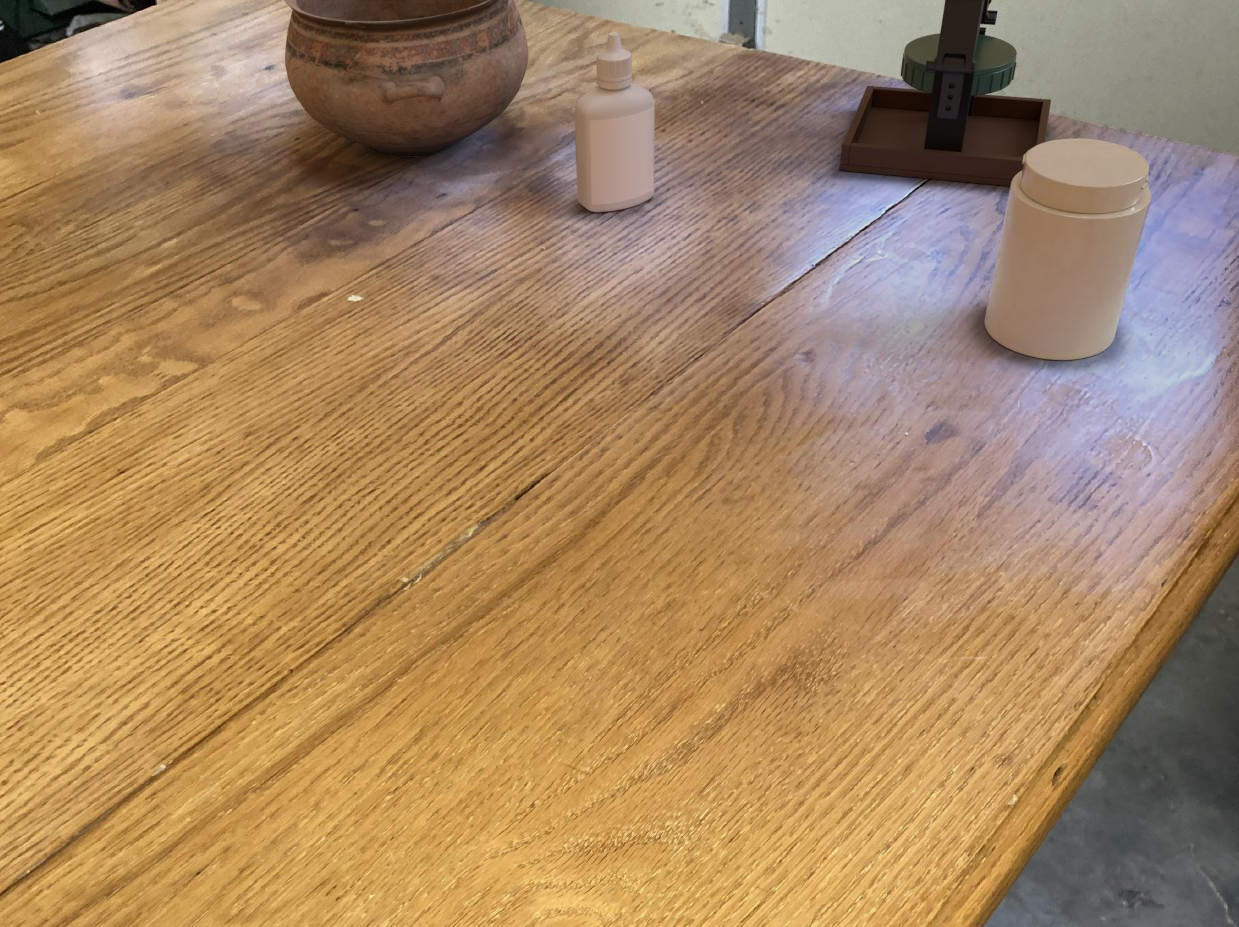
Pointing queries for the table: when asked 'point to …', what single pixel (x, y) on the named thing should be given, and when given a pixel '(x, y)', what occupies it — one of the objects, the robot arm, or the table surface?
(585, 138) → the eye dropper bottle
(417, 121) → the cooking pot
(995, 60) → the jar lid
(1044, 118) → the tray
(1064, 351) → the jam jar
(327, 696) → the table surface
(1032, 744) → the table surface
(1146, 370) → the table surface
